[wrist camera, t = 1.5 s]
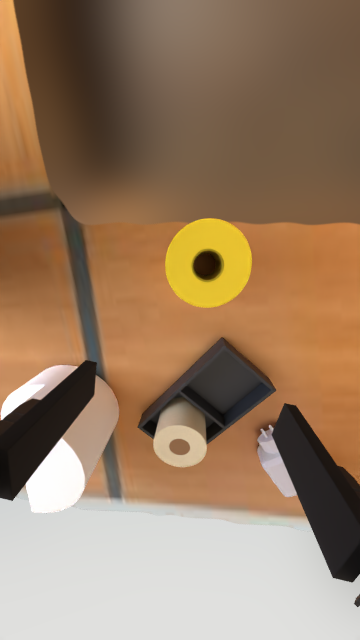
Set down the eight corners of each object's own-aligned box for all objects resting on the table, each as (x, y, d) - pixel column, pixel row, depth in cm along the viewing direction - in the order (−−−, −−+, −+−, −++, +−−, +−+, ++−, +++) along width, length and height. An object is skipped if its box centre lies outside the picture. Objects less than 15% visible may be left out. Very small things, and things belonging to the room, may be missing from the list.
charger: (282, 407, 38) (316, 459, 41) (240, 426, 40) (275, 474, 43) (294, 427, 34) (331, 483, 36) (246, 447, 36) (284, 499, 38)
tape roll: (178, 298, 34) (171, 311, 25) (170, 236, 31) (159, 226, 22) (237, 291, 33) (253, 302, 24) (234, 226, 30) (250, 211, 21)
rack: (142, 413, 41) (137, 427, 38) (222, 337, 35) (224, 345, 32) (185, 446, 43) (184, 462, 39) (269, 378, 37) (276, 390, 33)
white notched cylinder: (23, 360, 40) (-59, 405, 27) (117, 369, 39) (79, 422, 26) (37, 436, 46) (-24, 503, 33) (120, 446, 45) (89, 521, 32)
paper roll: (151, 415, 41) (142, 446, 34) (180, 388, 38) (176, 415, 31) (184, 440, 42) (182, 475, 35) (214, 416, 39) (218, 448, 33)
